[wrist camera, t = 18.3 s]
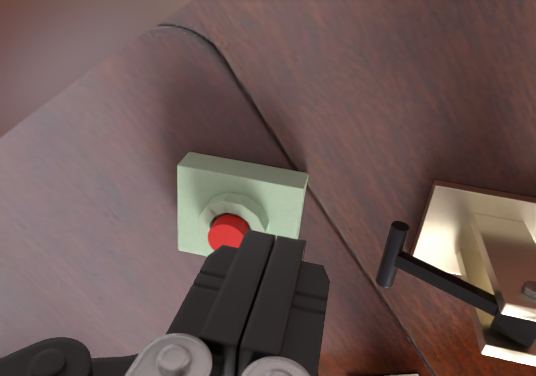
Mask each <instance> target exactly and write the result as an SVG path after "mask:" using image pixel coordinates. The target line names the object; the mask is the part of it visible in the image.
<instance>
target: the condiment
mask: <svg viewBox="0 0 536 376" xmlns="http://www.w3.org/2000/svg"><path fill="white" fill-rule="evenodd" d="M386 376H388V375H386ZM389 376H419V375H418V374H402V375H389Z"/></svg>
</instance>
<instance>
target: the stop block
mask: <svg viewBox="0 0 536 376" xmlns="http://www.w3.org/2000/svg"><path fill="white" fill-rule="evenodd" d="M307 179H308V173H304V172H299V171H293V170H288V169H282V168H277V167H271V166H266V165H260V164H255V163H249V162H244V161H238V160H233V159H227V158H222V157H216V156H211V155H205V154H200V153H194V152H188V154H187V155H186V156H185V157H184V158H183V159H182V160H181V161H180V163H179V164H178V165H177V207H178V250H180V251H185V252H190V253H194V254H199V255H204V256H208V255H210V254H211V253H212V252H214V250H213V249H212V248H211V246H210V244H209V242H208V232H209V230H210V229H211V227H212V225H213V223H214V222H215V220H216V219H217V218H218V217H220V216H222V215H225V214H232V215H236V216H238V217H240V218H242V219H243V220H244V221H245V222H246V223H247V225H248V226H249V229H250V230H253V231H258V232H263V233H268V234H273V235H276V238H277V236H278V235H279V236H284V237H289V238H293V239H298V236H299V230H300V223H301V217H302V211H303V204H304V198H305V192H306V186H307Z"/></svg>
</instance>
